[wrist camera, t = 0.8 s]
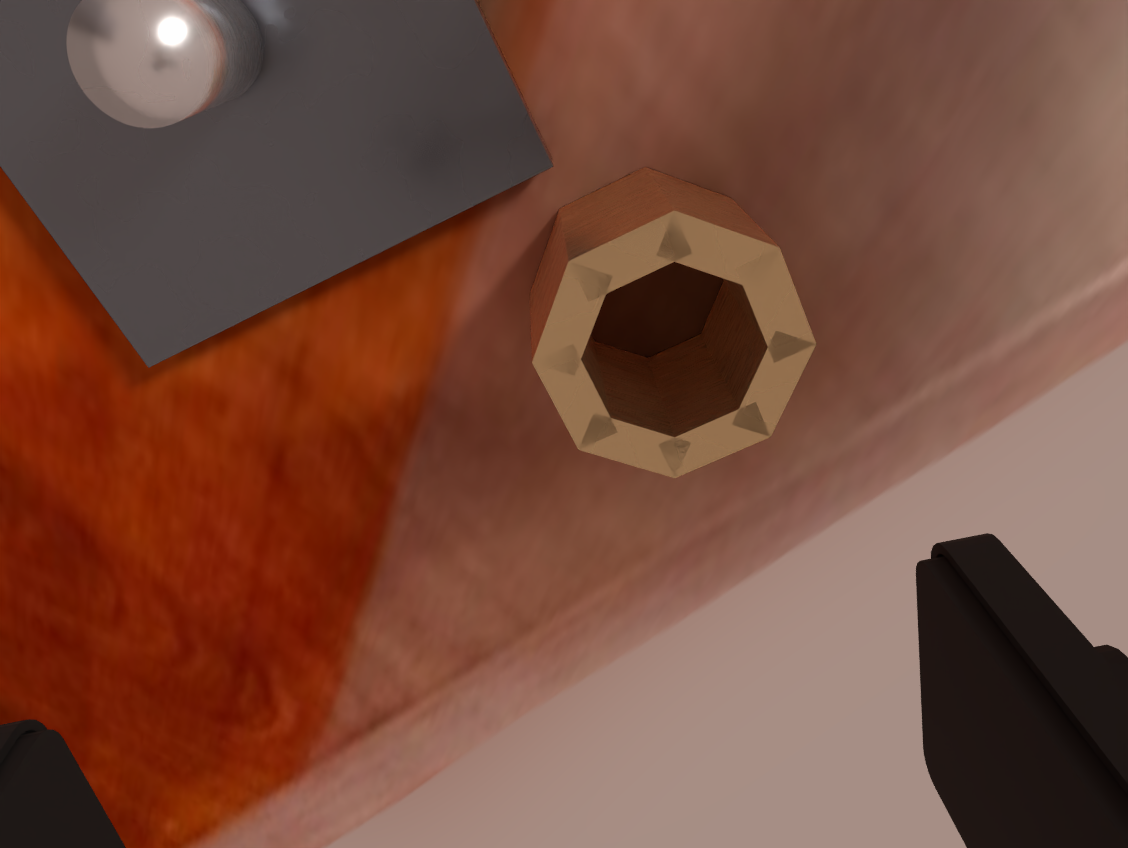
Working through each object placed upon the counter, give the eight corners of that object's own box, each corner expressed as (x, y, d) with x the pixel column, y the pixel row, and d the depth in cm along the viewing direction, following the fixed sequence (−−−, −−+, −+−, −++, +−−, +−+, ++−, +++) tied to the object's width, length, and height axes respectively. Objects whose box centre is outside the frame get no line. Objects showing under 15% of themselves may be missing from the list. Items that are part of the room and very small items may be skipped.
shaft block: (299, -376, 23) (221, -502, 17) (551, 157, 28) (559, 203, 22) (-154, -93, 25) (-365, -116, 19) (165, 350, 30) (79, 439, 24)
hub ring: (706, 136, 28) (751, 173, 23) (784, 332, 31) (840, 406, 26) (500, 237, 29) (496, 296, 24) (593, 418, 32) (608, 506, 27)
